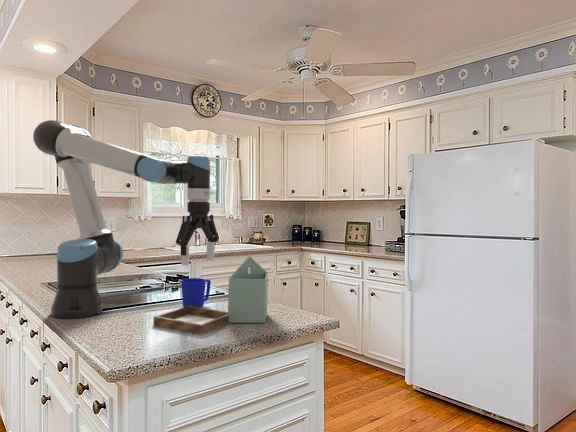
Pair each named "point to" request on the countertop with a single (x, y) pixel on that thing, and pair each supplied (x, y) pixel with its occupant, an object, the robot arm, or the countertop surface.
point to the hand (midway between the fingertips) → (198, 262)
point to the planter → (248, 294)
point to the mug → (194, 291)
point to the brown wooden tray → (192, 319)
